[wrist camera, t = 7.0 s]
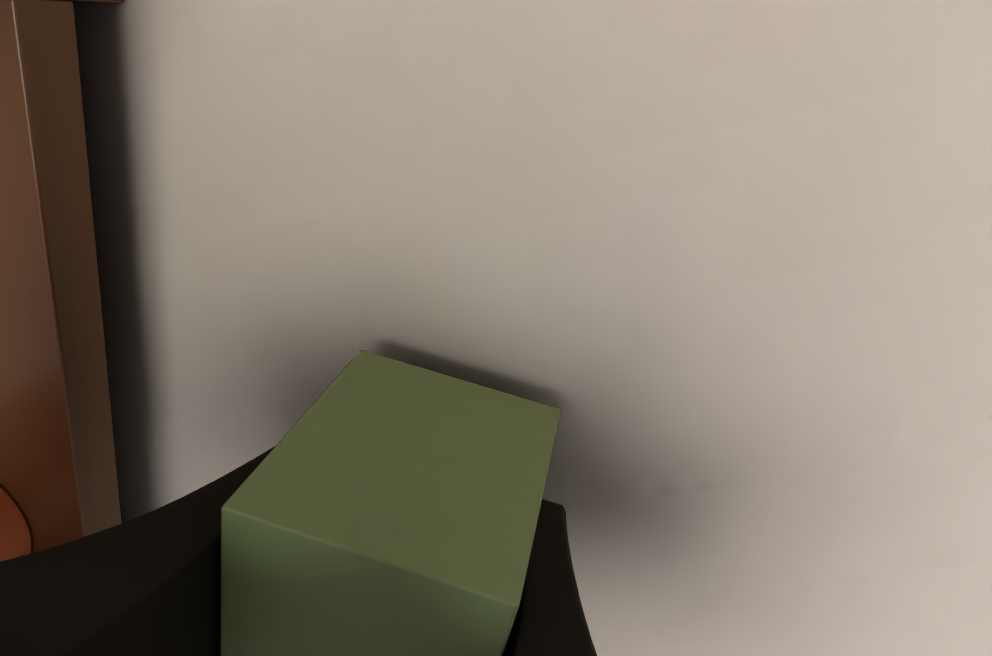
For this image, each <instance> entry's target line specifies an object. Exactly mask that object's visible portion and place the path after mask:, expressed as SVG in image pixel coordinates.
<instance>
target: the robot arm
mask: <svg viewBox="0 0 992 656" xmlns="http://www.w3.org/2000/svg"><path fill="white" fill-rule="evenodd" d="M274 448H275V447H273V448H271V449H270V450H268V451H266V452H265V453H263V454H261V455H260V456H258V457H256V458H254V459H253V460H251V461H249V462H247V463H246V464H244V465H242V466H240V467H239V468H237V469H235V470H233V471H232V472H230V473H228V474H226V475H225V476H223V477H221V478H219V479H217V480H215V481H213V482H211V483H209V484H207V485H205V486H204V487H202V488H200V489H198V490H196V491H194V492H192V493H190V494H188V495H186V496H184V497H182V498H180V499H178V500H176V501H173V502H171V503H169V504H167V505H165V506H163V507H160V508H158V509H156V510H154V511H151V512H149V513H147V514H144V515H142V516H139V517H137V518H135V519H132V520H130V521H127V522H124V523H122V524H119V525H116V526H113V527H111V528H108V529H105V530H102V531H99V532H96V533H93V534H91V535H88V536H85V537H82V538H79V539H76V540H73V541H71V542H67V543H64V544H61V545H58V546H54V547H51V548H48V549H44V550H41V551H38V552H34V553H30V554H27V555H23V556H19V557H16V558H12V559H8V560H5V561H1V562H0V656H220V636H221V509H222V506H223V505H224V504H225V503H226V502H227V500H228V499H229V498H230V497H231V496H232V495H233V494H234V493H235V491H236V490H237V489H238V488H239V487H240V486H241V485H242V484H243V482H244V481H245V480H246V479H247V478H248V477H249V476H250V475H251V473H252V472H253V471H254V470H255V469H256V468H257V467H258V466H259V464H260V463H261V462H262V461H263V460H264V459H265V458H266V457H267V455H268V454H269V453H270V452H271V451H272V450H273V449H274ZM502 656H597V654H596V651H595V648H594V645H593V642H592V639H591V636H590V632H589V629H588V626H587V622H586V619H585V616H584V612H583V608H582V605H581V601H580V597H579V592H578V588H577V584H576V580H575V575H574V571H573V566H572V561H571V555H570V549H569V542H568V535H567V525H566V511H565V509H564V507H563V506H562V505H560V504H557V503H553V502H550V501H547V500H544V499H542V502H541V506H540V511H539V516H538V520H537V525H536V530H535V534H534V539H533V544H532V548H531V553H530V558H529V562H528V567H527V572H526V576H525V581H524V586H523V590H522V595H521V600H520V605H519V608H518V611H517V614H516V617H515V620H514V623H513V626H512V629H511V632H510V635H509V637H508V640H507V643H506V646H505V649H504V652H503V655H502Z"/></svg>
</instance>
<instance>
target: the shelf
mask: <svg viewBox="0 0 992 656" xmlns="http://www.w3.org/2000/svg"><path fill="white" fill-rule="evenodd" d="M74 1H91V2H107V3H121V2H122V1H123V0H74ZM0 486H1V487H2V488H3V489H4V490H5V491H6V492H7V493H8V494H9V495H10V496H11V498H12V499H13V500H14V502H15V503H16V504H17V506H18V507H19V509H20V510H21V512H22V514H23V515H24V517H25V519H26V521H27V524H28V526H29V529H30V533H31V537H32V550H31V553H34V552H38V551H41V550H44V549H48V548H51V547H54V546H58V545H61V544H64V543H67V542H71V541H73V540H76V539H79V538H82V537H85V536H88V535H91V534H93V533H96V532H99V531H102V530H105V529H108V528H111V527H113V526H116V525H119V524H122V523H121V513H120V502H119V491H118V480H117V470H116V459H115V448H114V437H113V427H112V416H111V405H110V394H109V384H108V373H107V362H106V351H105V341H104V330H103V319H102V308H101V298H100V287H99V276H98V265H97V255H96V244H95V233H94V222H93V212H92V201H91V190H90V179H89V168H88V158H87V147H86V136H85V125H84V115H83V104H82V93H81V82H80V72H79V61H78V50H77V39H76V29H75V18H74V7H73V3H72V2H70V1H69V0H0Z"/></svg>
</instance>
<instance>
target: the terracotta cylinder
mask: <svg viewBox="0 0 992 656" xmlns="http://www.w3.org/2000/svg"><path fill="white" fill-rule="evenodd" d="M31 550H32V537H31V533H30V529H29V526H28V524H27V521H26V519H25V517H24V515H23V514H22V512H21V510H20V509H19V507H18V506H17V504H16V503H15V502H14V500H13V499H12V498H11V496H10V495H9V494H8V493H7V492H6V491H5V490H4V489H3V488H2V487H1V486H0V562H1V561H5V560H8V559H12V558H16V557H19V556H23V555H27V554H30V553H31Z"/></svg>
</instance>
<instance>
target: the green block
mask: <svg viewBox="0 0 992 656" xmlns="http://www.w3.org/2000/svg"><path fill="white" fill-rule="evenodd" d="M560 413H561V411H560V409H558V408H555V407H551V406H548V405H545V404H541V403H538V402H535V401H531V400H528V399H525V398H521V397H518V396H515V395H511V394H508V393H504V392H501V391H498V390H494V389H491V388H488V387H484V386H481V385H478V384H474V383H471V382H468V381H464V380H461V379H458V378H454V377H451V376H448V375H444V374H441V373H438V372H434V371H431V370H428V369H424V368H421V367H418V366H414V365H411V364H408V363H404V362H401V361H398V360H394V359H391V358H388V357H384V356H381V355H378V354H374V353H371V352H368V351H364V350H361V351H360V352H359V353H358V354H357V355H356V356H355V357H354V359H353V360H352V361H351V362H350V363H349V364H348V365H347V366H346V368H345V369H344V370H343V371H342V372H341V373H340V374H339V375H338V377H337V378H336V379H335V380H334V381H333V382H332V383H331V384H330V386H329V387H328V388H327V389H326V390H325V391H324V392H323V393H322V395H321V396H320V397H319V398H318V399H317V400H316V401H315V402H314V404H313V405H312V406H311V407H310V408H309V409H308V410H307V411H306V413H305V414H304V415H303V416H302V417H301V418H300V419H299V420H298V422H297V423H296V424H295V425H294V426H293V427H292V428H291V430H290V431H289V432H288V433H287V434H286V435H285V436H284V437H283V439H282V440H281V441H280V442H279V443H278V444H277V445H276V446H275V448H274V449H273V450H272V451H271V452H270V453H269V454H268V455H267V457H266V458H265V459H264V460H263V461H262V462H261V463H260V464H259V466H258V467H257V468H256V469H255V470H254V471H253V472H252V473H251V475H250V476H249V477H248V478H247V479H246V480H245V481H244V482H243V484H242V485H241V486H240V487H239V488H238V489H237V490H236V491H235V493H234V494H233V495H232V496H231V497H230V498H229V499H228V500H227V502H226V503H225V504H224V505H223V506H222V509H221V636H220V656H502V655H503V652H504V649H505V646H506V643H507V640H508V637H509V635H510V632H511V629H512V626H513V623H514V620H515V617H516V614H517V611H518V608H519V605H520V600H521V595H522V590H523V586H524V581H525V576H526V572H527V567H528V562H529V558H530V553H531V548H532V544H533V539H534V534H535V530H536V525H537V520H538V516H539V511H540V506H541V502H542V497H543V492H544V488H545V483H546V478H547V474H548V469H549V464H550V460H551V455H552V450H553V446H554V441H555V436H556V432H557V427H558V422H559V417H560Z"/></svg>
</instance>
